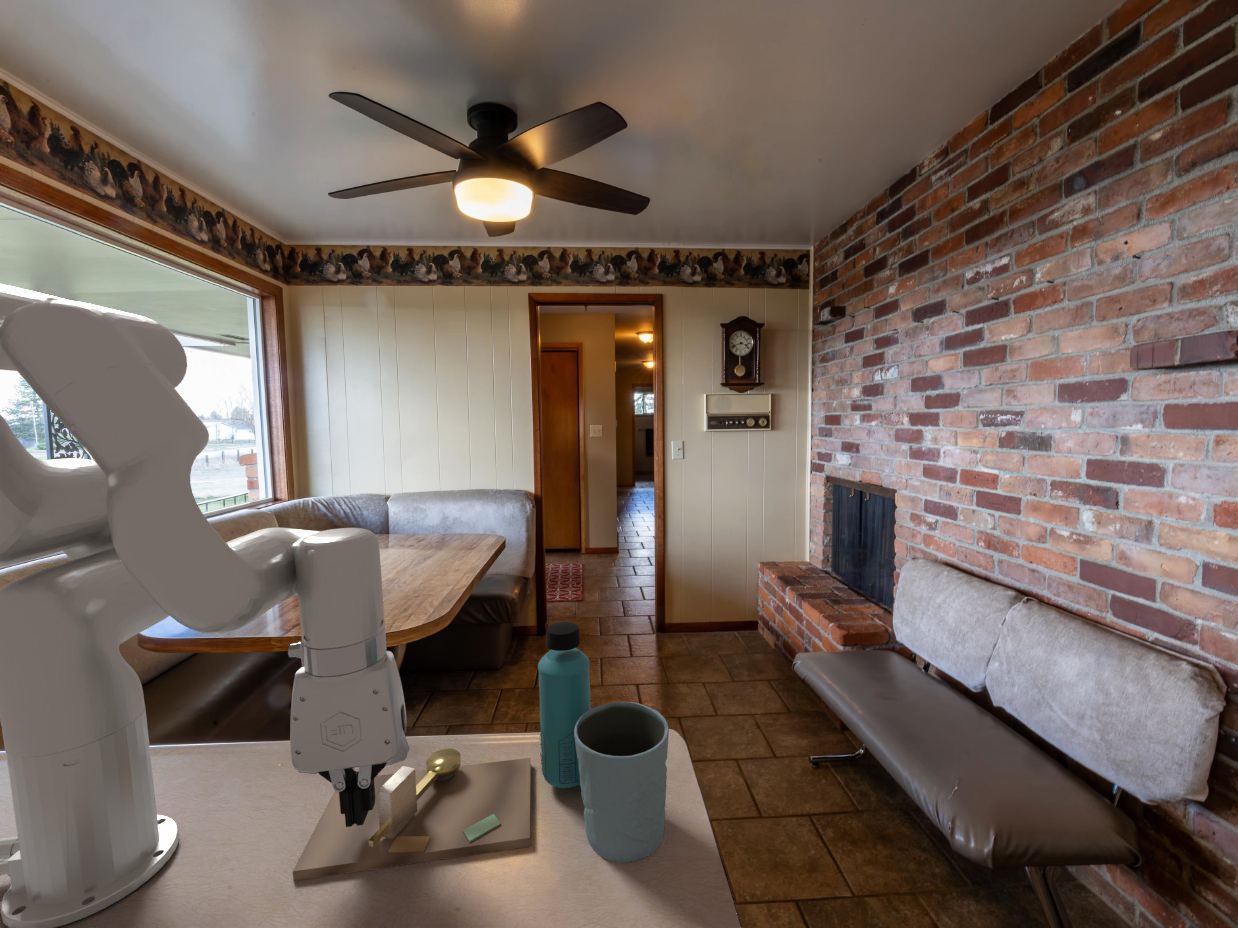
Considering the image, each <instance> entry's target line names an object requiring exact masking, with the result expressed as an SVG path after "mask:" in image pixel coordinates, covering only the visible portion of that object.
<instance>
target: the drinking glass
mask: <svg viewBox="0 0 1238 928" xmlns="http://www.w3.org/2000/svg"><path fill="white" fill-rule="evenodd" d="M669 729H670V728H669V724H668V721H667V720H666V717H664V716H663V714H661V713H660V712H659V711H657V710H656V709H654V708H652V707H650V706H648V705H645V704H641V703H639V702H634V701H613V702H607V703H602V704H600V705H597V706H594V707H591V709H590V710H589V711H587V712H586V713H584V714H583V715H582V716H581V717H580V718H579V720H578V721H577V723H576V725H575V728H574V736H575V744H576V752H577V758H578V762H579V773H580V785H579V787H580V789H581V790H580V791H581V792H580V793H581V799H582V804H583V807H584V810H583V818H584V819H583V820H584V826H585V827H584V828H585V834H586V837H587V841H588V843H589V845H590V847H591V848H592V849H593V850H594V852H596V853H597V854H598V855H599V856H600V857H601V858H603V859H606V860H609V861H612V862H615V863H625V864H627V863H633V862H637V861H640V860H643V859H644V858H648V857H649V856H651V855H652V854H653V853H655V852H656V850H658V848H659V847H660V845H661V843H662V841H663V838H664V834H665V821H666V820H665V819H666V798H667V780H668V775H667V773H668V767H667V765H666V763H667V759H668V749H669V731H670V730H669Z"/></svg>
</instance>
